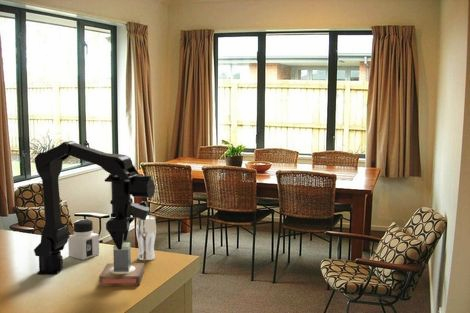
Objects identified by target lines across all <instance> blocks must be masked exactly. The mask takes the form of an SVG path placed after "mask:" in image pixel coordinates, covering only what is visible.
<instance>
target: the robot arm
mask: <svg viewBox="0 0 470 313" xmlns="http://www.w3.org/2000/svg"><path fill="white" fill-rule="evenodd" d="M70 157H74V158H76V159H79V160H83V161H84V162H88V163H90V164H93V165H97V166H99V167H101V169H103V171H105V172H107V173H108V176H107V177H106V178H105V179H104V182H106V183H110V185H111V186H110V187H111V200H110V205H111V213H110V218H109V219H108V220H107V222H106V223H105V230H106V231H107V232H108V234H109V235H110V238H111V239H112V241H113V244H114V245H116V247H117V249H118V250H121V249H122V244H123V243H124V242H126V241H127V240H128V234H129V231H130V226H131V223H132V222H133V221H134V220H135V218H136V219H137V218H140V219H141V220H146V218H147V215H149V211H150V207H149V206H148V205H147V202H146V201H143V200H142V201H141V202H140V203H138V202H136V203H135V202H133V200H134V199H133V198H148V199H151V198H153V197H154V194H155V190H156V184H155V183H154V180H153V179H152V175H151V174H150V175H148V174H147V175H140V172H139V171H138V170H137V169H136V167H135V166H134V164H133V161H132V159H131V157H130V156H129V155H127V154H121V153H107V152H105V151H104V152H103V151H101V150H97V149H94V148H92V147H88V146H87V145H82V144H80V143H77V142H76V141H74V140H73V141H72V140H69V141H64V142H62V143H60V144H59V145H57V146H55V147H52V148H51V149H49V150H47V151H43V152H39V153H38V154H37V155H36V156H35V157H34V165H35V170H36V172H37V174H38V175H39V177H40V179H41V182H42V194H43V197H42V198H43V209H44V210H43V211H44V226H43V227H42V230H41V234H40V242H39V244H38V245H37V246H36V247H35V248H34V249H33V252H34V255H35V257H38V271H37V275H54V274H55V275H58V274H59V272H60V271H62V269H63V268H64V264H63V263H64V258H63V255H62V253H61V252H62V251H63V250H65V249H64V248H65V246H66V244H67V243H68V238H69V237H70V236H69V235H70V234H69V230H70V229H69V228H70V227H69V225H65V224H64V223H63V222H62V214H61V213H62V212H61V200H60V185H59V184H60V183H59V177H60V174H61V172H62V170H63V161H65V160H67V159H68V158H70ZM131 196H132V197H133V198H132V197H131Z"/></svg>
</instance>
